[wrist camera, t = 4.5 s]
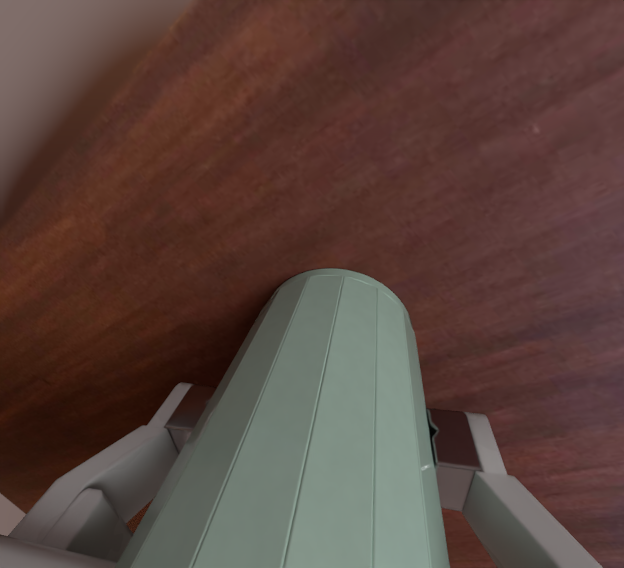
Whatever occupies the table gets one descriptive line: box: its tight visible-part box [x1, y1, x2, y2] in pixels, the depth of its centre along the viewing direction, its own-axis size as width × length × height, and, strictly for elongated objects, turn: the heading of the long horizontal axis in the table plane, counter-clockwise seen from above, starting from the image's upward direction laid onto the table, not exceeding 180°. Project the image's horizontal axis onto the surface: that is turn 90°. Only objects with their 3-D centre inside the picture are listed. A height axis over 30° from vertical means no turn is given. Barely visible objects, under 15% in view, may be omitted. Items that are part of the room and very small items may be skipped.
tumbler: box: [115, 268, 450, 568], centre depth 8 cm, size 6×6×10 cm
